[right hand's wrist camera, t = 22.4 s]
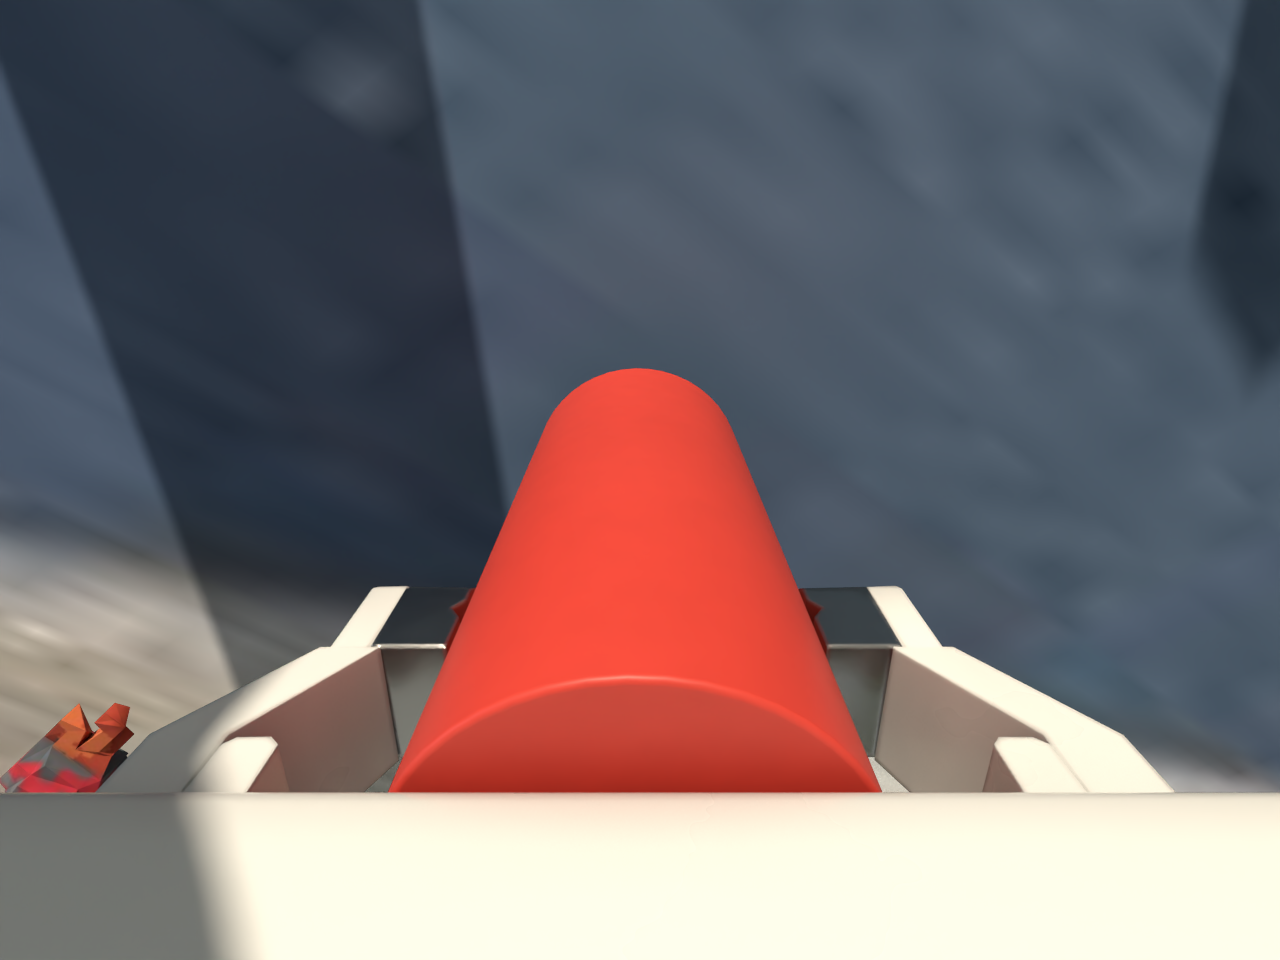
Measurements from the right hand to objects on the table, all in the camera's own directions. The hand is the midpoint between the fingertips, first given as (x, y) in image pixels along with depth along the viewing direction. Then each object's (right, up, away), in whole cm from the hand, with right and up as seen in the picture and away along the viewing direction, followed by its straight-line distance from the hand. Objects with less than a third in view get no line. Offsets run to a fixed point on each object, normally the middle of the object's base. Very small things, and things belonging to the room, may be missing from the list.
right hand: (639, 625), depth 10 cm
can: (0, +3, +6) cm, 7 cm away
